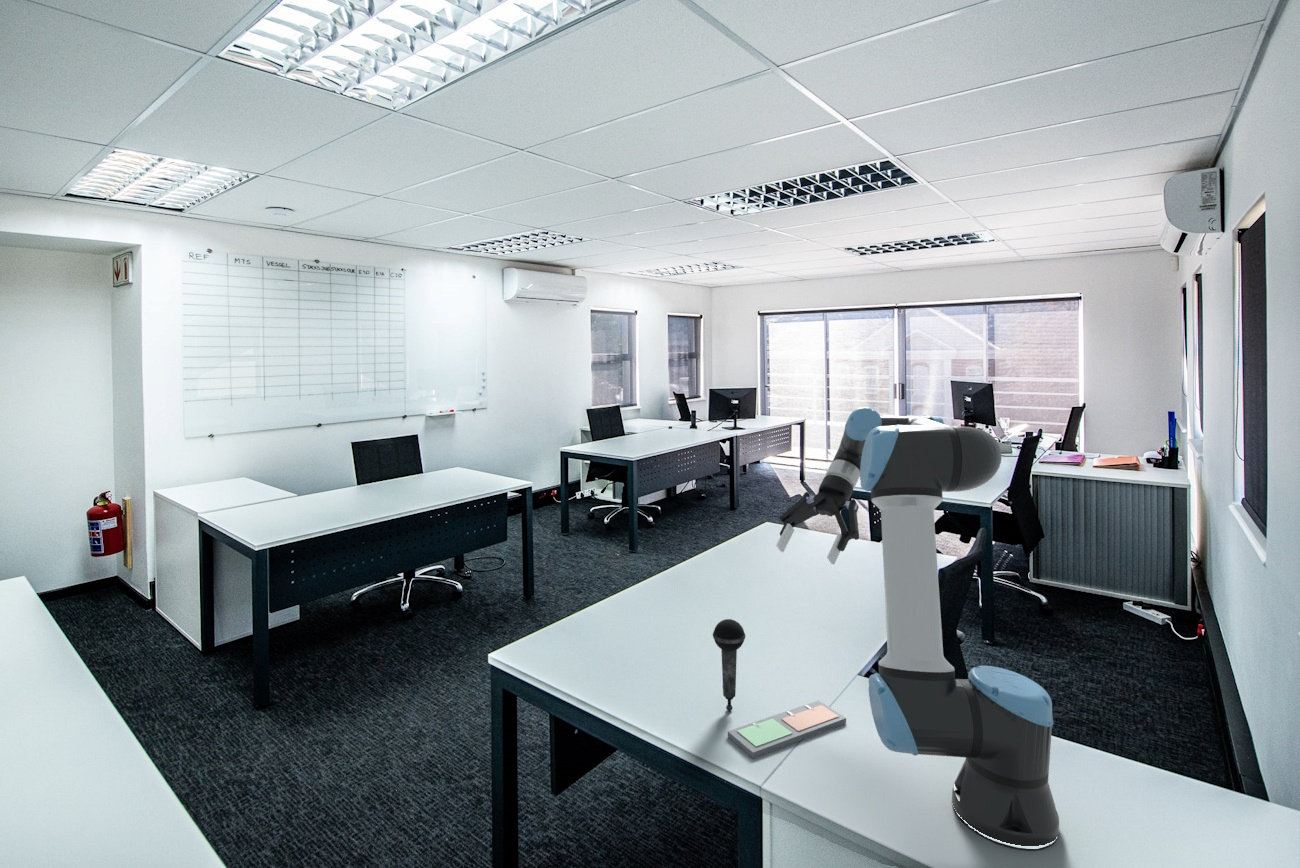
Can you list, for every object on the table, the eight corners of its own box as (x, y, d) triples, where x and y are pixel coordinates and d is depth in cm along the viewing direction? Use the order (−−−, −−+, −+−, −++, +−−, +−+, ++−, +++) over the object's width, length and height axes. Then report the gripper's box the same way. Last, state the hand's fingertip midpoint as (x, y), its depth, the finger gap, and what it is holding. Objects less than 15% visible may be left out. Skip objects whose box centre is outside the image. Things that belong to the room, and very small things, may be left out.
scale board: (846, 723, 129) (846, 717, 129) (752, 758, 118) (753, 751, 118) (818, 705, 136) (818, 699, 136) (727, 736, 125) (727, 730, 125)
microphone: (744, 702, 138) (744, 614, 135) (746, 720, 131) (746, 627, 129) (713, 701, 138) (712, 613, 136) (713, 718, 131) (712, 626, 129)
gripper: (892, 499, 148) (859, 575, 139) (801, 485, 166) (766, 552, 157) (883, 479, 144) (848, 557, 135) (790, 467, 162) (753, 535, 153)
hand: (804, 554), depth 146 cm, fingers open, 13 cm apart
